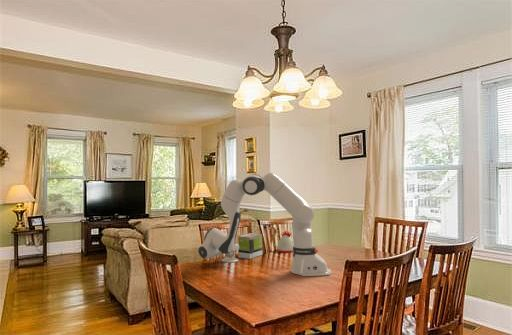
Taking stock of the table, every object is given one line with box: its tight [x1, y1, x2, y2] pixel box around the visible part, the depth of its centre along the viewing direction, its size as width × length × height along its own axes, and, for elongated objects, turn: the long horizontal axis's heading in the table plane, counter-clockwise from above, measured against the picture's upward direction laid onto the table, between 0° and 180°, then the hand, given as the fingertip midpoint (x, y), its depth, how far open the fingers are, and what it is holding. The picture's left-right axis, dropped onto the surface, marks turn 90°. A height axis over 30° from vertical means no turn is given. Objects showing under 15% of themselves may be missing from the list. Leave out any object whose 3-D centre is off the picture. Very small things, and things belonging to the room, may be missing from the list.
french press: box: [224, 251, 235, 258], centre depth 225 cm, size 8×6×16 cm
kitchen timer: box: [276, 230, 294, 254], centre depth 254 cm, size 14×14×15 cm
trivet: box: [221, 257, 239, 264], centre depth 223 cm, size 11×11×1 cm
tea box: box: [237, 232, 263, 260], centre depth 237 cm, size 15×10×15 cm
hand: (230, 244), depth 224 cm, fingers closed on french press, 6 cm apart
